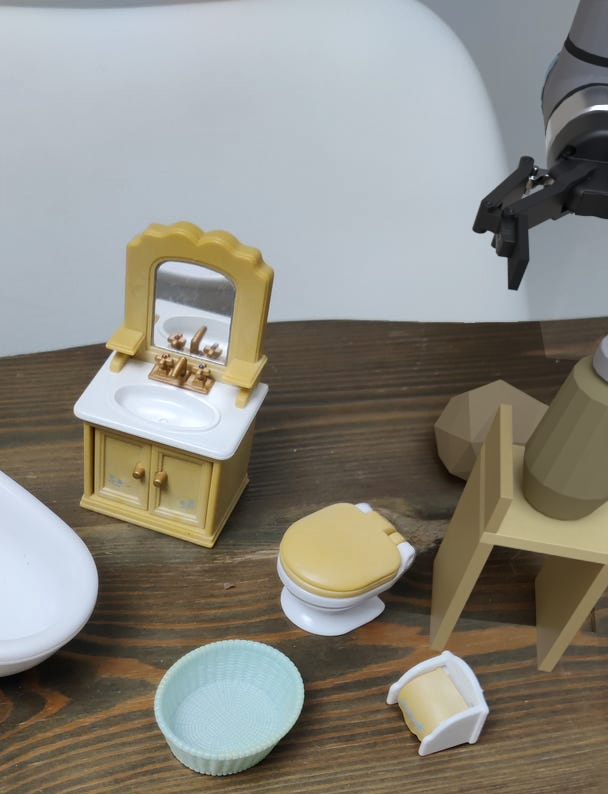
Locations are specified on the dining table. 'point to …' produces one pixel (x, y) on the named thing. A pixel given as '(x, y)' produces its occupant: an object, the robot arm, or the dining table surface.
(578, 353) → the dining table surface
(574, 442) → the squeeze bottle
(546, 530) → the tan chair
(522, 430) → the low-poly potato
